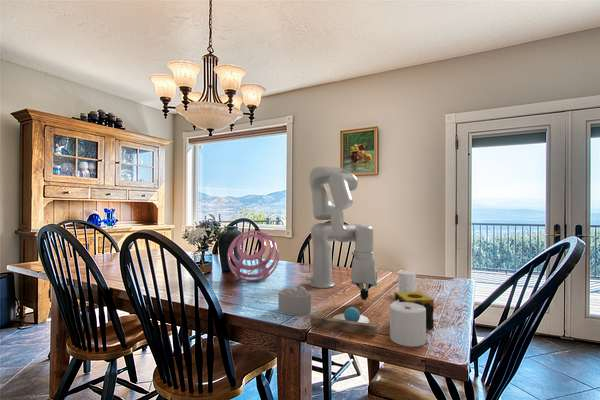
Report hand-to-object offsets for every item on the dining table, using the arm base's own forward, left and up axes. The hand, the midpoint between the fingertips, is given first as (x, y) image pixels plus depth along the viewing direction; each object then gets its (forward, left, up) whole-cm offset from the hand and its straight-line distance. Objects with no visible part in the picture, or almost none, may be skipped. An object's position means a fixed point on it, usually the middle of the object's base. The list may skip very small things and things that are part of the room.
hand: (364, 299), depth 138 cm
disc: (0, -22, -2) cm, 22 cm away
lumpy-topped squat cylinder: (-22, -20, -2) cm, 30 cm away
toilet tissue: (+20, -31, -2) cm, 37 cm away
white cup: (+15, +20, -2) cm, 25 cm away
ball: (+1, -25, +1) cm, 25 cm away
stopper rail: (0, -32, -2) cm, 32 cm away
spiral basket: (-65, +16, -2) cm, 67 cm away
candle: (+21, -17, -2) cm, 27 cm away
